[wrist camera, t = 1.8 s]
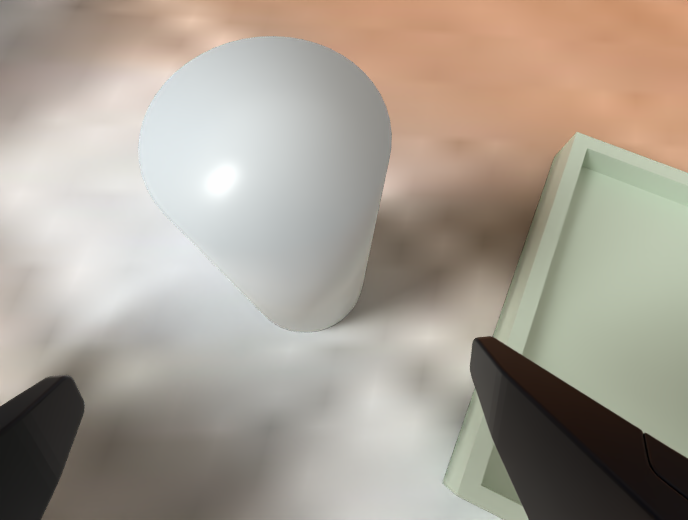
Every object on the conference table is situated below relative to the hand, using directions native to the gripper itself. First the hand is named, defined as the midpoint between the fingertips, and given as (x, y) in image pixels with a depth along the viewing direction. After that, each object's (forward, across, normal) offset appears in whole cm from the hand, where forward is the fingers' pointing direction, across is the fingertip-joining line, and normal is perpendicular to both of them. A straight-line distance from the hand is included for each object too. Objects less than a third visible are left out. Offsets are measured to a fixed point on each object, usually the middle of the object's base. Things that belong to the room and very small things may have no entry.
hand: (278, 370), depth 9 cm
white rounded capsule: (+13, 0, +5) cm, 14 cm away
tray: (+9, -16, +8) cm, 20 cm away
